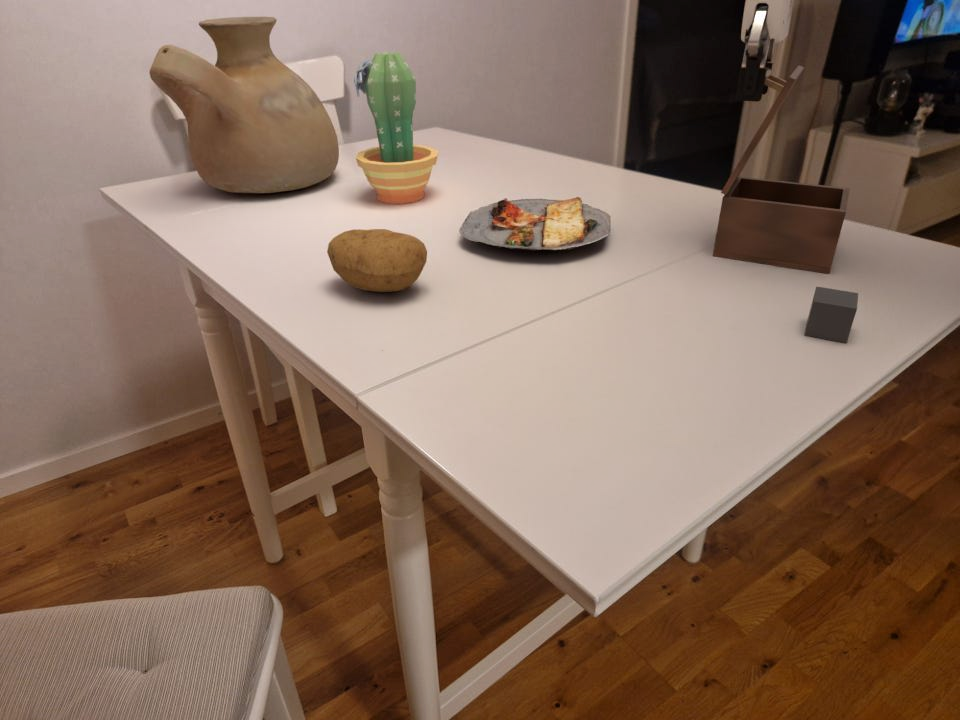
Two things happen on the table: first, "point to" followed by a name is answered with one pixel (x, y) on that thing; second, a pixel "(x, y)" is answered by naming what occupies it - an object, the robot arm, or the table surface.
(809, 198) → the box
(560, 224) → the food plate
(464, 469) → the table surface
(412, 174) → the potted cactus
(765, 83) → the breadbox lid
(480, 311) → the table surface
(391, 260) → the potato
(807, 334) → the block
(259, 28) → the jug
